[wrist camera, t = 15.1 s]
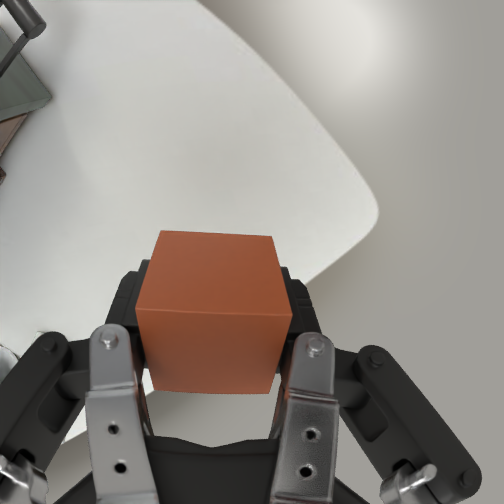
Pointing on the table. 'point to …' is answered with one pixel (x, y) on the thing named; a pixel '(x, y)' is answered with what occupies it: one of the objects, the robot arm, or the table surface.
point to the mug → (6, 362)
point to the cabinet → (2, 175)
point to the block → (213, 313)
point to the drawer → (18, 72)
